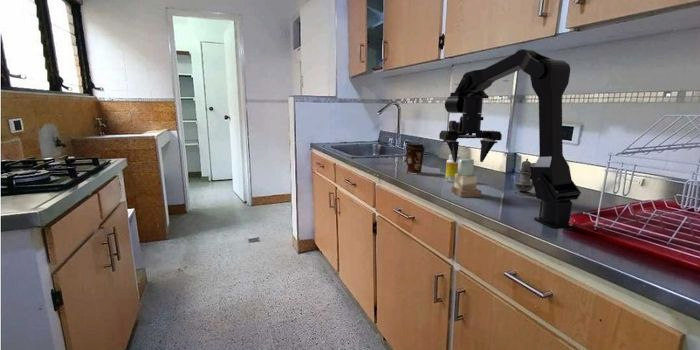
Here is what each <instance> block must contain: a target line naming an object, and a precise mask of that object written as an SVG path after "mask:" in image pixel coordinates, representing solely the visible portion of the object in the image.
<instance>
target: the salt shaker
mask: <svg viewBox="0 0 700 350" xmlns="http://www.w3.org/2000/svg"><path fill="white" fill-rule="evenodd" d="M531 163H532V162H531V161H529V158H526V159H525V160H524V161H522V163H521V168H520V170H519V174H520V175H519V180H517V181H514V184H515V188H516V189H517V190H516V191H514V194H515V195H519V196H525V197H526V196H527V197H528V196H533V193H532V192H530V191H531V190H532V189H533V188H534V186H533V184H532V180H531V179H529V178H530V175H531V171H530V164H531Z"/></svg>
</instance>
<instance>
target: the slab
mask: <svg viewBox="0 0 700 350" xmlns="http://www.w3.org/2000/svg"><path fill="white" fill-rule="evenodd" d="M450 193H452V194H454V195H455V196H457V197H460V198H481V197H482V193H483V192H482V190H480V189H479V188H476V190H460V189H458V188H455V187H454V186H453V185H451V190H450Z"/></svg>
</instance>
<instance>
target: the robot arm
mask: <svg viewBox="0 0 700 350" xmlns="http://www.w3.org/2000/svg"><path fill="white" fill-rule="evenodd" d="M520 70H522V72H524V73H526V74H527V75H529V77H530V82H531V83H530V84H531V87H532V89H533V91H534V93H535V94H536V96H537V98H538V99H537V100H538V137H539V138H538V140H539V141H538V143H539V144H538V145H539V154H538V155H539V156H538V158H537V160H536V162H531V164H530V171H531V175H530V178H529V179H530V180H531V183H532V184H533V188H534V192H535V196H536V197H535V198H536V199H538V200H541V201H540V205H539V206H540V207H539V215H538V216H534V217H533V220H535V221H537V222H539V223H541V224H542V225H545V226H548V227H549V228H567V227H568V228H569V227H570V225H569V223H568V222H569V221H571V220H570V219H571V214H572V206H573V200H578V199H579V197H580V196H581V194H582V192H581V191H580V189H579V188H578V186H577V185H576V183H575V182H574V181H573V179H572V175H571V168H570V165H569V164H568V162H567V161H566V158H565V156H564V154H563V146H564V145H563V95H564V93H565V91H566V90H567V87H568V86H569V82H570V75H571V66H570V64H569V63H568V62H567V61H565V60H561V59H553V58H550V57H548V56H545V55H543V54H540V53H538V52H537V51H536V50H533V49H523V48H521V49H519V50H517V51H516V52H514V53H513V54H511V55H509V56H507V57H505V58H503V59H501V60H499V61H497V62H495V63H493V64H490V65H489V66H486V67H485V68H481V69H475V70H471V71H466V72H465V73H464V74H463V75H462V77H461V80H460V81H459V83H458V85H457V87H456V88H455V90H454V92H450V94H449V95H450V96H449V97H447V98H446V99H445V102H444V108H445V111H446V112H448V113H450V114H462V116H460V118H459V121H456V120H449V122H448V130H441V131H440V133H439V138H438V139H439V140H442V142H443V143H446V144H447V146H448V148H449V150H450V155H452V158H453V162H456V161H457V155H459V154H458V153H459V143H460V141H457V140H458V139H479V141H480V145H481V147H480V156H479V162H480V163H483V162H484V161H485V159H486V157H487V155H488V154H489V153H490V151H491V149H492V148H493V147H494V146H495V144H498V141H502V137H503V135H502V132H501V131H497V130H483V129H481V126H482V125H481V124H482V121H484V116H483V115H482V114H483V113H482V112H483V102H484V99H489V95H488V93H486V92H485V91H486V90H487V89H488V88H490V87H491V86H492V84H493V83H495V81H498V80H500V79H502V78H505V77H507V76H509V75H511V74H514V73H517V71H520Z"/></svg>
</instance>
